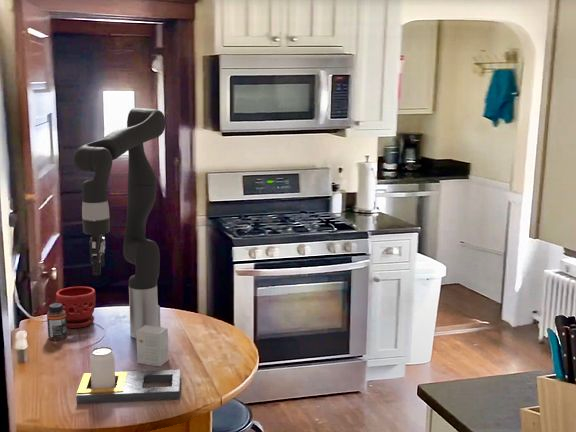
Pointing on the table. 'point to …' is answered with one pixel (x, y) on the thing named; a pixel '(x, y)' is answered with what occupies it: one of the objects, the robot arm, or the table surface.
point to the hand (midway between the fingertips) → (98, 270)
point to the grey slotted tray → (131, 387)
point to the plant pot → (77, 305)
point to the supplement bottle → (56, 322)
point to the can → (102, 368)
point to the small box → (152, 345)
